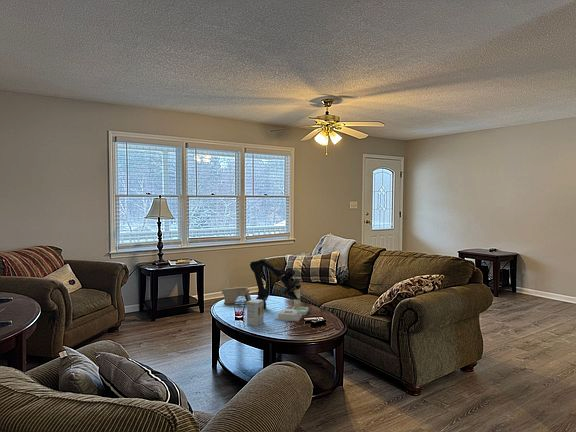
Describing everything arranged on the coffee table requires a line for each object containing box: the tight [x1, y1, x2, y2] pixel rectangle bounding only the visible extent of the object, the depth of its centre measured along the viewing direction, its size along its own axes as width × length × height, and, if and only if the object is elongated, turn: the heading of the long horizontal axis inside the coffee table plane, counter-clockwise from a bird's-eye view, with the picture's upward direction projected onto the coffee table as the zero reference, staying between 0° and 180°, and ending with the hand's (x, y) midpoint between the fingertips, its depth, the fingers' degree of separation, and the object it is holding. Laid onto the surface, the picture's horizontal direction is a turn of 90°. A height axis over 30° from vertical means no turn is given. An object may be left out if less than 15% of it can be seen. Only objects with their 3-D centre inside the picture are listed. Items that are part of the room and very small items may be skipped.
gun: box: [221, 286, 252, 305], centre depth 338 cm, size 24×3×15 cm, turn 84°
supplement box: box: [246, 298, 265, 327], centre depth 286 cm, size 10×9×17 cm
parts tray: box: [291, 306, 309, 316], centre depth 313 cm, size 12×12×3 cm
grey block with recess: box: [274, 308, 303, 323], centre depth 299 cm, size 18×14×4 cm
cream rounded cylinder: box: [293, 288, 301, 308], centre depth 305 cm, size 5×5×13 cm
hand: (298, 298), depth 304 cm, fingers closed on cream rounded cylinder, 4 cm apart
